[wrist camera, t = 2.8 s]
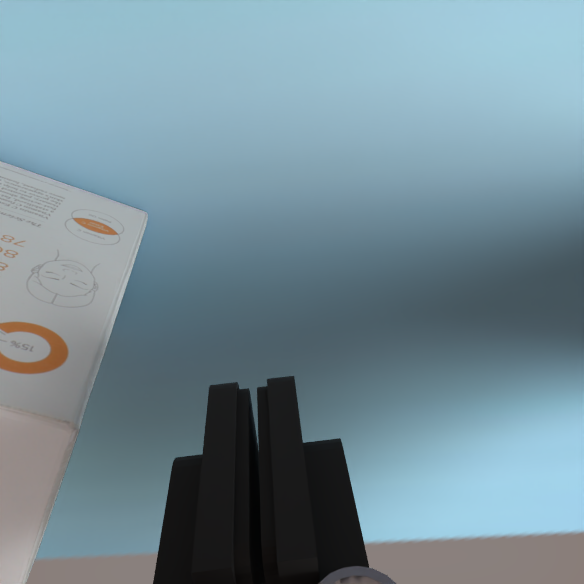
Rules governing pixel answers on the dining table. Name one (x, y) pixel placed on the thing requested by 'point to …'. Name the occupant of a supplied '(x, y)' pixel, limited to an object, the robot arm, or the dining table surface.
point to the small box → (51, 338)
